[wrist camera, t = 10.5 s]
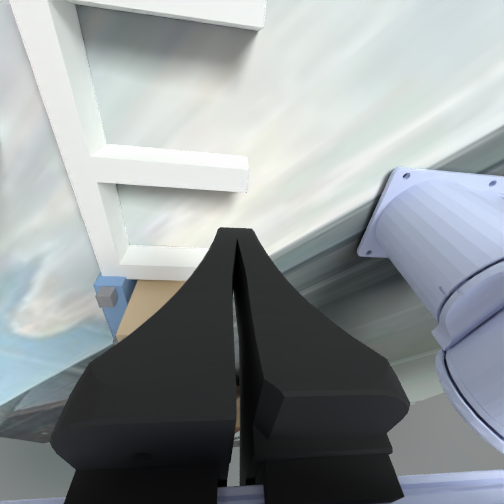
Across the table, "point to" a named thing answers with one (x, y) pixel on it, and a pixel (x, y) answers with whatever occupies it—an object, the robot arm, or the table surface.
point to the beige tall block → (146, 303)
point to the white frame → (120, 156)
